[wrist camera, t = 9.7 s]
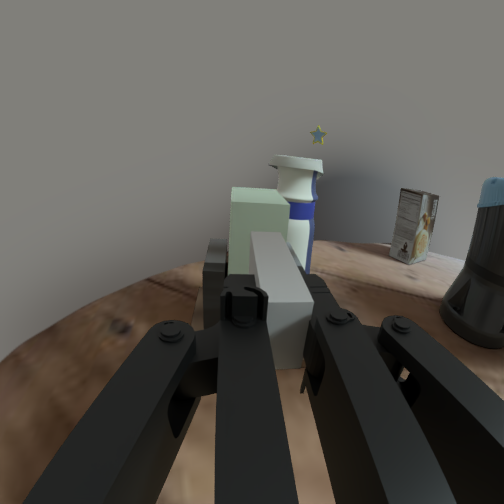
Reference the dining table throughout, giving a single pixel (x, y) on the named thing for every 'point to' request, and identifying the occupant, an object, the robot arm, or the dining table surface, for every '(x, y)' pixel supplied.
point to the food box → (413, 225)
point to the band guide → (218, 285)
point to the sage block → (253, 222)
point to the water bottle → (300, 198)
